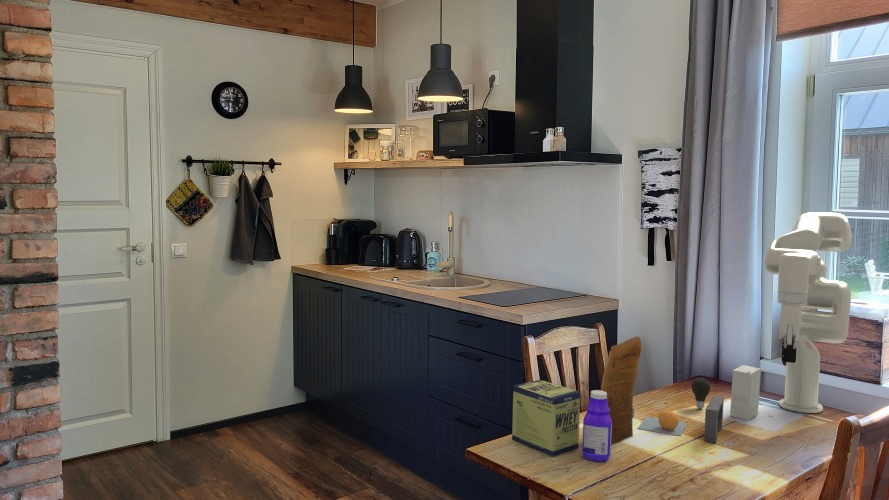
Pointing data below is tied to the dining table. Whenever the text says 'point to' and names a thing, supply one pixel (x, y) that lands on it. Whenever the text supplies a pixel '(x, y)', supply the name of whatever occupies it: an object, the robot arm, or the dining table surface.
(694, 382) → the light bulb
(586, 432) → the bottle
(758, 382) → the skincare box
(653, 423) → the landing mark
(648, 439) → the dining table surface
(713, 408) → the bridge
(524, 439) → the protein box
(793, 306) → the robot arm
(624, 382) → the pancake mix bag
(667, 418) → the ball
